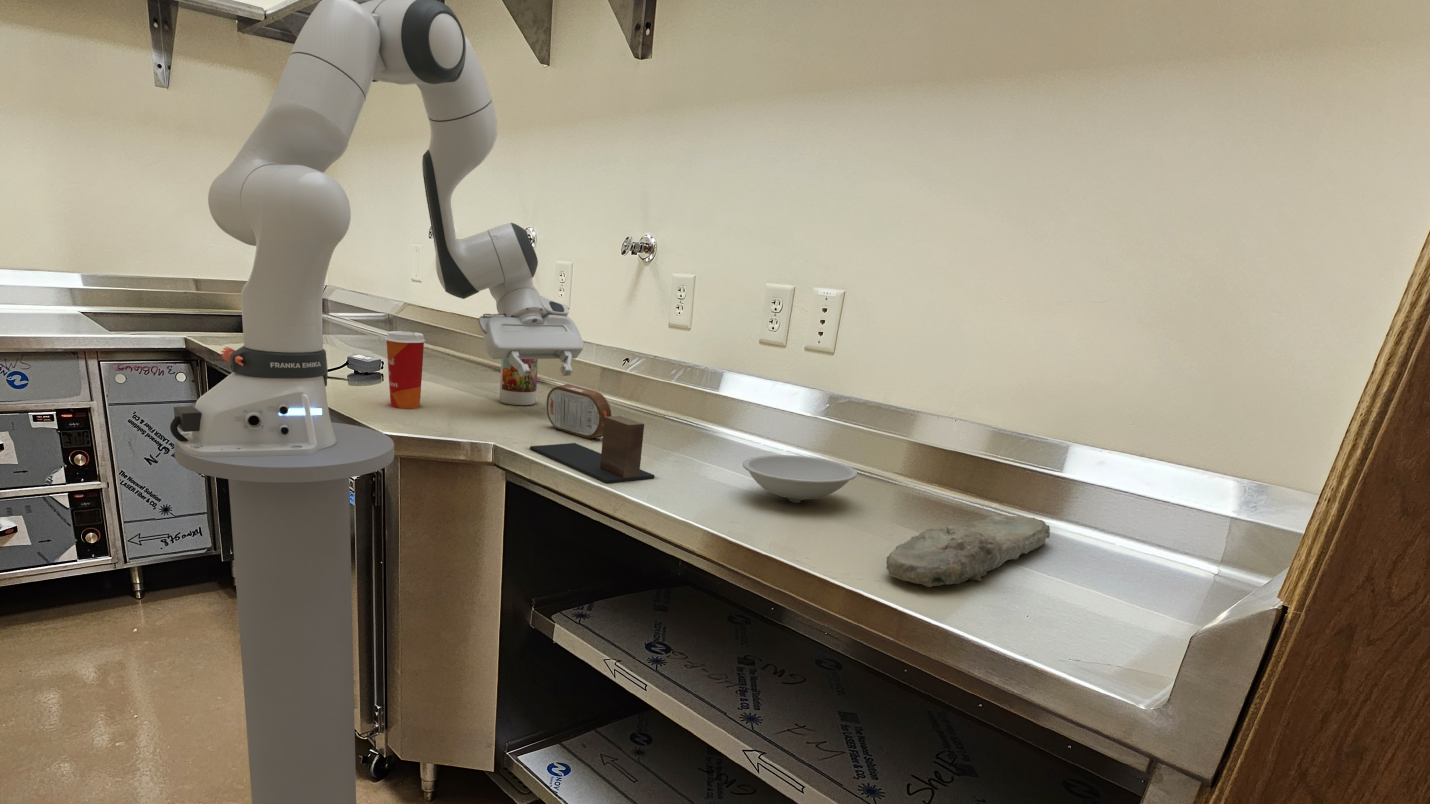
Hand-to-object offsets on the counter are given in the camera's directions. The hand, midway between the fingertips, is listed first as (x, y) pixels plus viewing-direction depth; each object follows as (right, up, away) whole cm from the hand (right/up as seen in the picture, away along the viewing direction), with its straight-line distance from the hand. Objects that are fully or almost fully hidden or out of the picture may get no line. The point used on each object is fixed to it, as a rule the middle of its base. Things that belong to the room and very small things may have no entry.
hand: (547, 374), depth 158 cm
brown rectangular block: (+13, -22, -31) cm, 40 cm away
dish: (+38, -26, -37) cm, 59 cm away
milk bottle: (-7, -2, +20) cm, 22 cm away
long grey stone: (+55, -35, -56) cm, 86 cm away
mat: (+8, -20, -25) cm, 33 cm away
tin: (+5, -12, -5) cm, 14 cm away
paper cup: (-29, -5, +7) cm, 30 cm away
